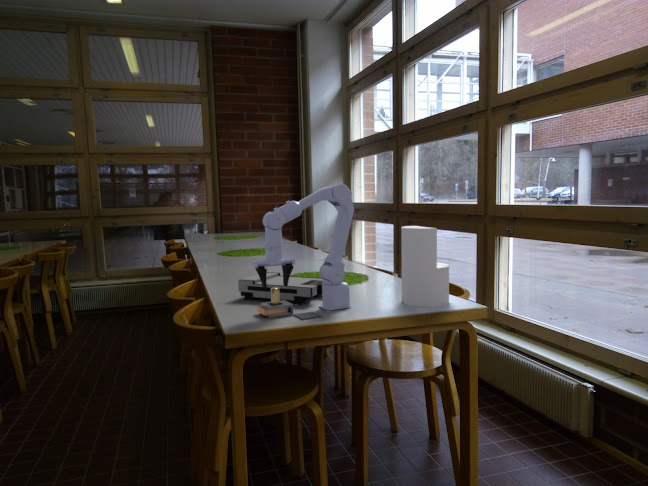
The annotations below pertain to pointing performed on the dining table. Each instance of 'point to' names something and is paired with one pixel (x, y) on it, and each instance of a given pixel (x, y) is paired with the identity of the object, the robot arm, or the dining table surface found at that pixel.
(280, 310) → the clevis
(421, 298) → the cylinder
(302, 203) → the robot arm
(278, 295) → the brass peg
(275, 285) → the game console
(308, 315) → the rubber mat
